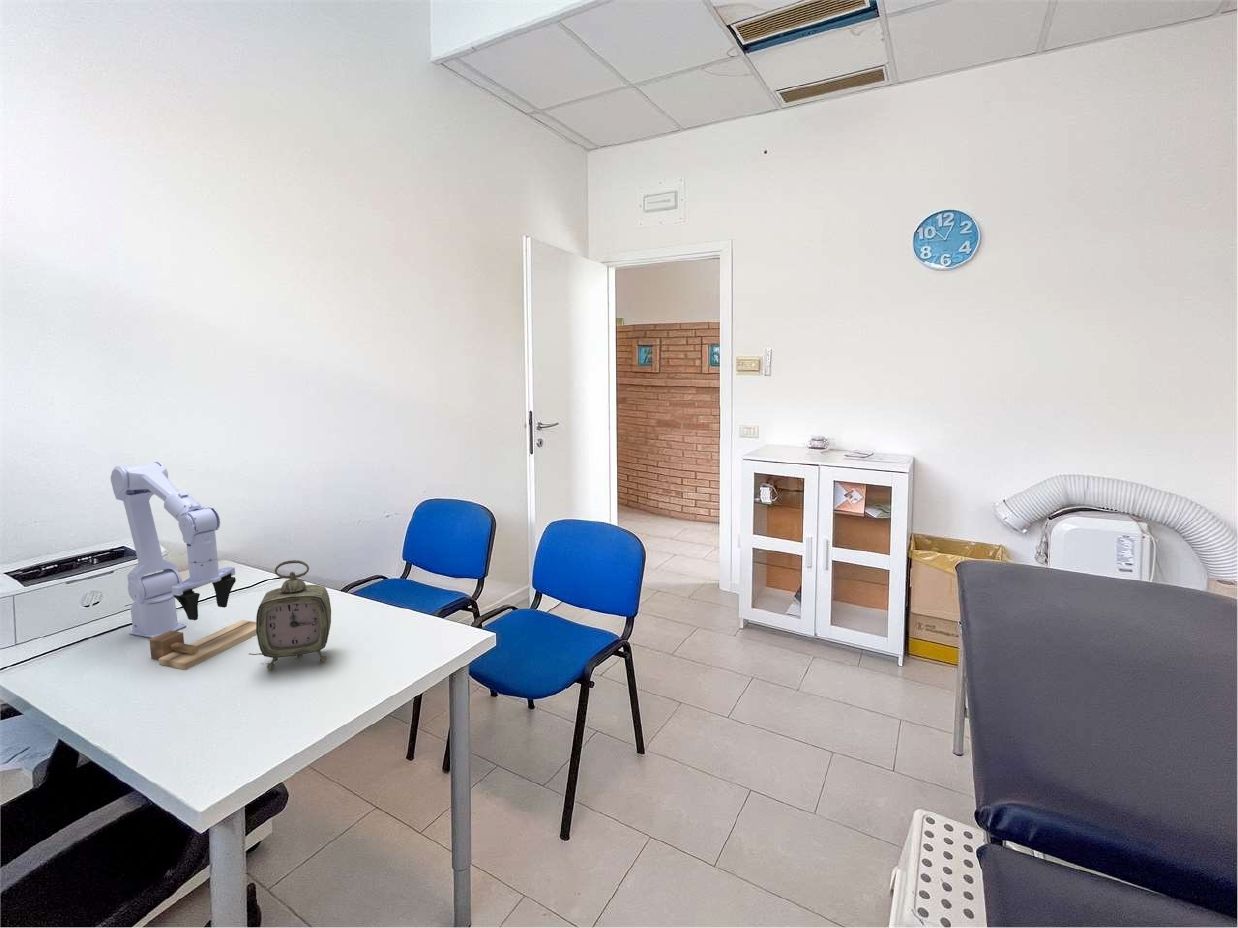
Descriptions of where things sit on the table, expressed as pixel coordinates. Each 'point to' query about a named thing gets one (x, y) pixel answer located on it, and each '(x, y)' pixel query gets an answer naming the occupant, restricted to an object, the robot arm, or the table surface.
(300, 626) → the tabletop clock
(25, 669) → the table surface
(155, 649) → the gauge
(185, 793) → the table surface
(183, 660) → the board
